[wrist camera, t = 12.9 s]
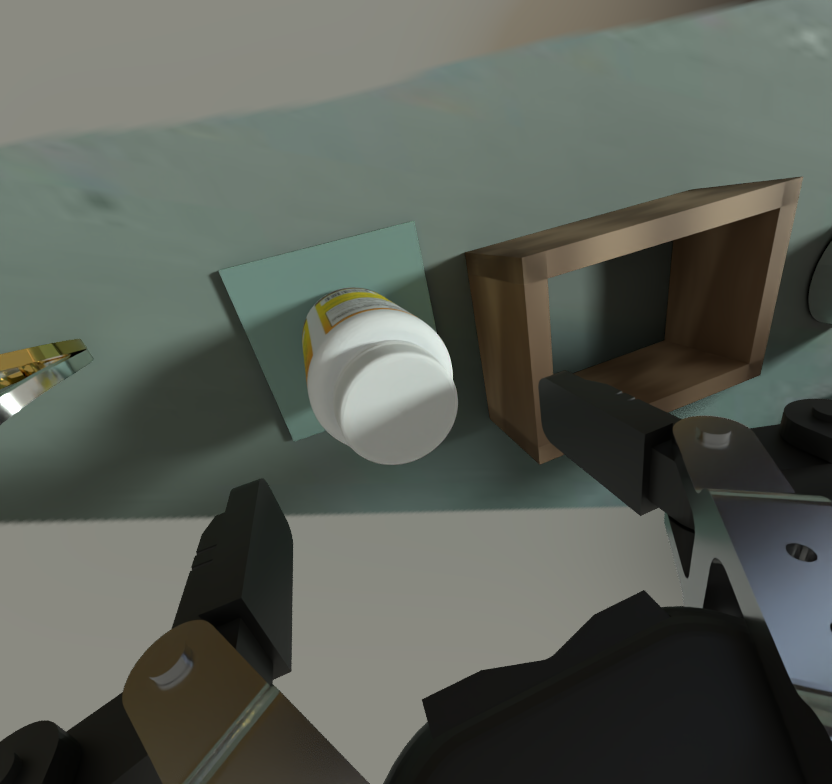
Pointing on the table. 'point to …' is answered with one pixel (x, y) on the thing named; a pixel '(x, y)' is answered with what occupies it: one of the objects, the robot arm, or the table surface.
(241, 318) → the mat
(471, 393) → the table surface
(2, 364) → the ring
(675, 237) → the box
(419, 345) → the supplement bottle
